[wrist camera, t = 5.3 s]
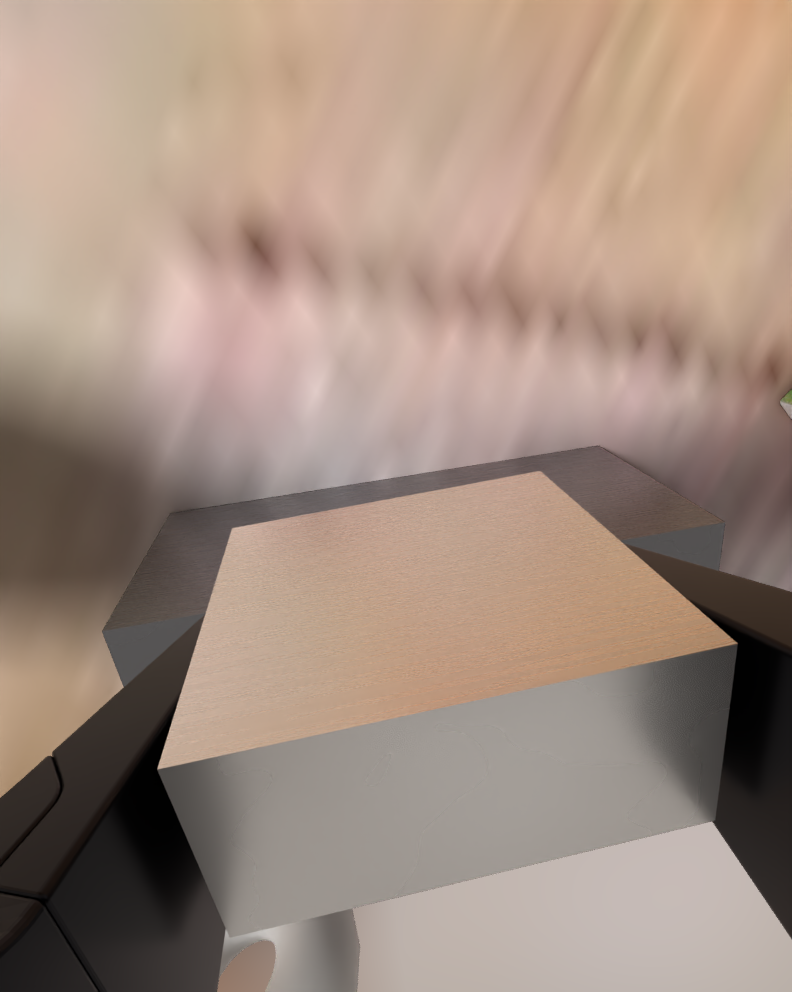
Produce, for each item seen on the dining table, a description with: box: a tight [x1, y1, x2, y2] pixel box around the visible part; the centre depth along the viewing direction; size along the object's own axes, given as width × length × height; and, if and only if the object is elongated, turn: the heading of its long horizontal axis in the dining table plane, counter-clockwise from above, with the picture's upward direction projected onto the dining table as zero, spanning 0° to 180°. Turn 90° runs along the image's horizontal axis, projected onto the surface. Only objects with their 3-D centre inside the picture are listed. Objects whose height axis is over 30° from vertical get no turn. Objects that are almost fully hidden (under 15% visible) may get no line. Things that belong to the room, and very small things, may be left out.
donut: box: [219, 909, 360, 992], centre depth 22 cm, size 10×3×10 cm, turn 109°
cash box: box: [102, 446, 725, 687], centre depth 19 cm, size 16×11×7 cm
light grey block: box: [157, 471, 738, 938], centre depth 8 cm, size 6×2×5 cm, turn 98°
